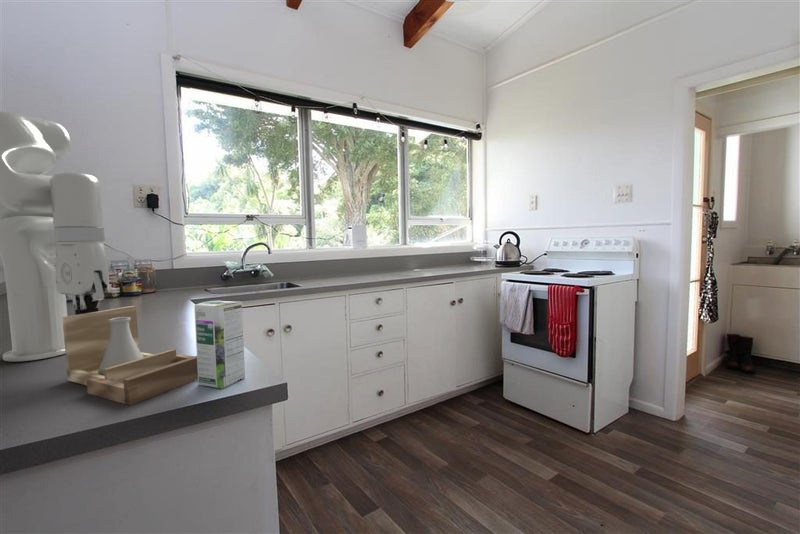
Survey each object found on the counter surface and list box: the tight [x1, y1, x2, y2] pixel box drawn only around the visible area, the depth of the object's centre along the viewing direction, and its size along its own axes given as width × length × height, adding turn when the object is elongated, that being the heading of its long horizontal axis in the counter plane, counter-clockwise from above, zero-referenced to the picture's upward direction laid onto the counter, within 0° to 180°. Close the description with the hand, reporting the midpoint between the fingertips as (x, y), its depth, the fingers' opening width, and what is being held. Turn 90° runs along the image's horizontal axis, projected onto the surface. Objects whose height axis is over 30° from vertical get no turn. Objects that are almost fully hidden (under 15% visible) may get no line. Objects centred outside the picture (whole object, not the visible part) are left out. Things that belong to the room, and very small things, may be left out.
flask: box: [98, 317, 144, 375], centre depth 70 cm, size 7×7×10 cm
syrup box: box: [194, 300, 246, 390], centre depth 66 cm, size 6×6×14 cm
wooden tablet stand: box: [62, 305, 177, 386], centre depth 70 cm, size 13×12×12 cm
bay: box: [86, 352, 198, 407], centre depth 66 cm, size 12×15×4 cm
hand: (88, 327), depth 75 cm, fingers closed
